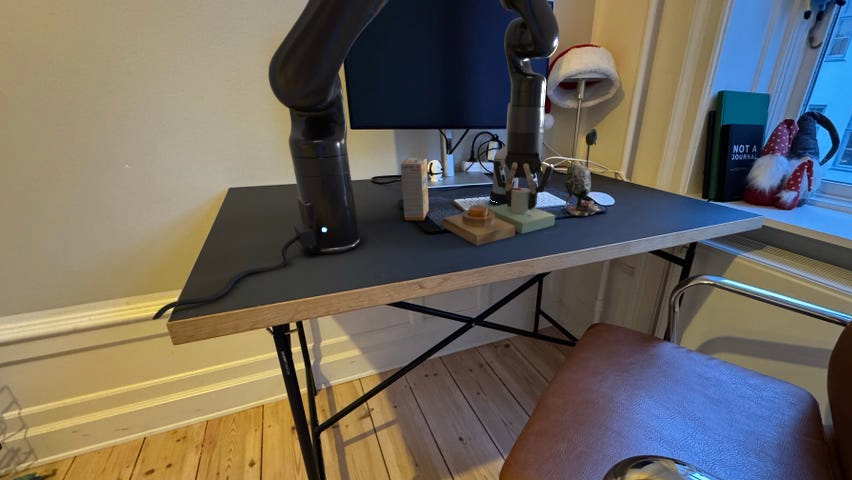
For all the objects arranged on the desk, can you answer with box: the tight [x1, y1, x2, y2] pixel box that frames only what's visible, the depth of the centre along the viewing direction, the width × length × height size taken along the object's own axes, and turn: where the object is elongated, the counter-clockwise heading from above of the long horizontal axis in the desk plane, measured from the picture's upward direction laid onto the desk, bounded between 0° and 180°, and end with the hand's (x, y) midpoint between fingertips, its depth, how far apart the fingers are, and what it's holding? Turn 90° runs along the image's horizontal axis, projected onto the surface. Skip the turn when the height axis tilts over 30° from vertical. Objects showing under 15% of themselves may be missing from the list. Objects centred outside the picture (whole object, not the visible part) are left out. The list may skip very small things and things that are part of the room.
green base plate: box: [487, 204, 556, 235], centre depth 86 cm, size 10×13×3 cm
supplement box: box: [400, 157, 430, 221], centre depth 86 cm, size 8×5×13 cm, turn 179°
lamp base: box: [442, 209, 516, 246], centre depth 79 cm, size 10×13×4 cm
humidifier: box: [489, 102, 519, 207], centre depth 95 cm, size 8×8×25 cm
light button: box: [468, 204, 489, 217], centre depth 78 cm, size 4×4×2 cm
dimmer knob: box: [511, 187, 531, 214], centre depth 84 cm, size 4×4×5 cm
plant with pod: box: [564, 128, 602, 217], centre depth 90 cm, size 8×11×20 cm
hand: (520, 207), depth 85 cm, fingers open, 4 cm apart
